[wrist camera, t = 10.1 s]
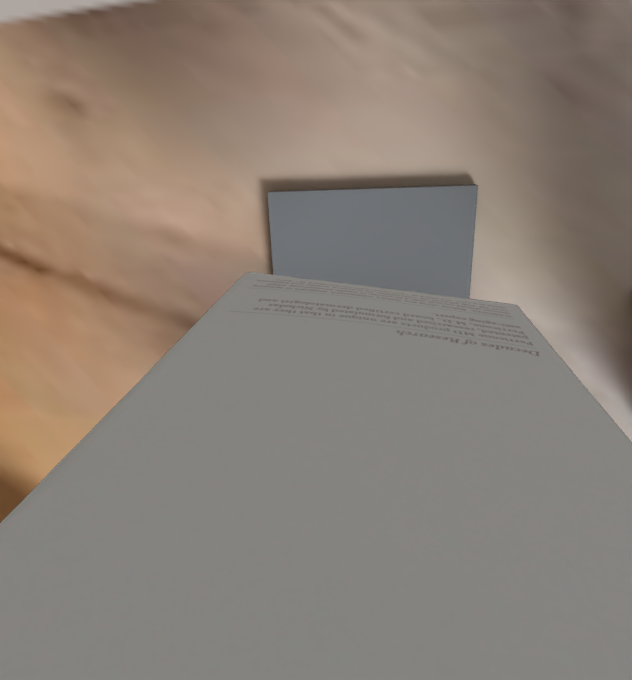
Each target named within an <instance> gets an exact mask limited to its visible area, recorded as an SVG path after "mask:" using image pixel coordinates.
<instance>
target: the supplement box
mask: <svg viewBox="0 0 632 680" xmlns="http://www.w3.org/2000/svg"><path fill="white" fill-rule="evenodd" d="M0 680H632V442H631V441H630V440H629V438H628V437H627V436H626V435H625V434H624V432H623V431H622V430H621V429H620V428H619V426H618V425H617V424H616V423H615V422H614V420H613V419H612V418H611V417H610V416H609V414H608V413H607V412H606V411H605V410H604V409H603V407H602V406H601V405H600V404H599V403H598V402H597V400H596V399H595V398H594V397H593V396H592V394H591V393H590V392H589V391H588V390H587V389H586V387H585V386H584V385H583V384H582V383H581V381H580V380H579V379H578V378H577V377H576V375H575V374H574V373H573V372H572V370H571V369H570V368H569V367H568V366H567V364H566V363H565V362H564V361H563V360H562V358H561V357H560V356H559V355H558V354H557V352H556V351H555V350H554V349H553V348H552V346H551V345H550V344H549V343H548V341H547V340H546V339H545V338H544V337H543V335H542V334H541V333H540V332H539V331H538V329H537V328H536V327H535V326H534V325H533V323H532V322H531V321H530V320H529V319H528V318H527V316H526V315H525V314H524V313H523V312H522V310H521V309H520V307H519V306H517V305H514V304H507V303H500V302H491V301H483V300H476V299H469V298H459V297H452V296H443V295H435V294H426V293H420V292H414V291H404V290H394V289H386V288H379V287H372V286H363V285H354V284H346V283H337V282H330V281H323V280H313V279H303V278H294V277H289V276H280V275H271V274H262V273H255V272H249V273H245V274H244V275H243V276H242V277H241V278H240V279H239V280H238V281H237V282H236V283H235V284H234V285H233V286H232V287H231V288H230V289H229V290H228V291H227V292H226V293H225V294H224V295H223V296H222V297H221V298H220V299H219V300H218V301H217V302H216V303H215V304H214V305H213V306H212V307H211V308H210V309H209V310H208V311H207V312H206V313H205V314H204V315H203V316H202V317H201V318H200V319H199V320H198V322H197V323H196V324H195V325H194V326H193V327H192V328H191V329H190V330H189V331H188V332H187V333H186V334H185V335H184V336H183V337H182V338H181V339H180V340H179V341H178V342H177V343H176V344H175V345H174V346H173V347H172V348H171V349H170V350H169V351H168V352H167V353H166V354H165V355H164V356H163V357H162V358H161V359H160V360H159V361H158V362H157V363H156V364H155V365H154V366H153V367H152V368H151V369H150V370H149V371H148V373H147V374H146V375H145V376H144V377H143V378H142V379H141V380H140V381H139V382H138V383H137V384H136V385H135V386H134V387H133V388H132V389H131V390H130V391H129V392H128V393H127V394H126V395H125V396H124V397H123V398H122V399H121V400H120V401H119V402H118V403H117V404H116V405H115V406H114V407H113V408H112V409H111V410H110V411H109V412H108V413H107V415H106V416H105V417H104V418H103V419H102V420H101V421H100V422H99V423H98V424H97V425H96V426H95V427H94V428H93V429H92V430H91V431H90V432H89V433H88V434H87V435H86V436H85V437H84V438H83V439H82V440H81V441H80V442H79V443H78V444H77V445H76V446H75V447H74V448H73V449H72V450H71V451H70V452H69V453H68V454H67V455H66V456H65V457H64V458H63V459H62V460H61V461H60V462H59V463H58V464H57V465H56V466H55V467H54V468H53V469H52V471H51V472H50V473H49V474H48V475H47V476H46V477H45V478H44V479H43V480H42V481H41V482H40V483H39V484H38V485H37V486H36V487H35V488H34V489H33V490H32V491H31V492H30V493H29V494H28V495H27V496H26V498H25V499H24V500H23V501H22V502H21V503H20V504H19V505H18V506H17V507H16V508H15V509H14V510H13V511H12V512H11V513H10V514H9V515H8V516H7V517H6V518H5V519H4V520H3V521H2V522H1V523H0Z"/></svg>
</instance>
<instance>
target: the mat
mask: <svg viewBox="0 0 632 680" xmlns="http://www.w3.org/2000/svg"><path fill="white" fill-rule="evenodd" d="M477 190H478V185H449V186H419V187H388V188H358V189H327V190H297V191H270V192H267V195H268V208H269V222H270V235H271V249H272V263H273V275H280V276H289V277H294V278H303V279H313V280H323V281H330V282H337V283H346V284H354V285H363V286H372V287H379V288H386V289H394V290H404V291H414V292H420V293H426V294H435V295H443V296H452V297H459V298H469V296H470V283H471V270H472V257H473V243H474V230H475V217H476V203H477Z"/></svg>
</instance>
